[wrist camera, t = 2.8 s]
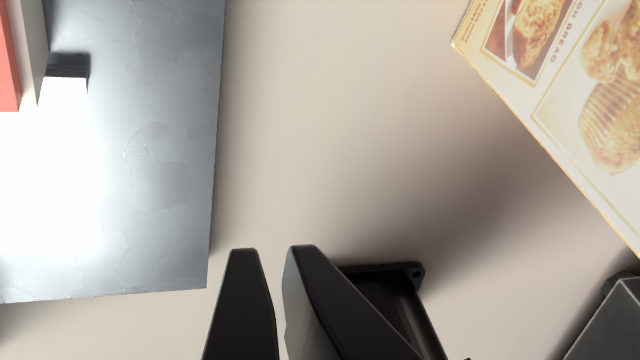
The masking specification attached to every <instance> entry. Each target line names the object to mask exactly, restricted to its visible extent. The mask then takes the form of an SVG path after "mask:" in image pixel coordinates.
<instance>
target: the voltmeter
mask: <svg viewBox="0 0 640 360" xmlns="http://www.w3.org/2000/svg"><path fill="white" fill-rule="evenodd" d="M601 289H602V291H603V293H604V295H605V297H606V299H605V300H604V301H603V303H602V304H601V306H600V307H599V309H598V310H597V311H596V313H595V314H594V316H593V317H592V319H591V320H590V321H589V323H588V324H587V326H586V327H585V329H584V330H583V331H582V333H581V334H580V336H579V337H578V339H577V340H576V341H575V343H574V344H573V346H572V347H571V349H570V350H569V352H568V353H567V354H566V356H565V357H564V359H563V360H640V277H636V276H635V275H634V274H632V273H631V272H630V271H624V272H619V273H617V274H615V275H614V276H612V277H610V278H609V279H607V280H606V282H605V283H604V285H603V286H602V288H601Z"/></svg>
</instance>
